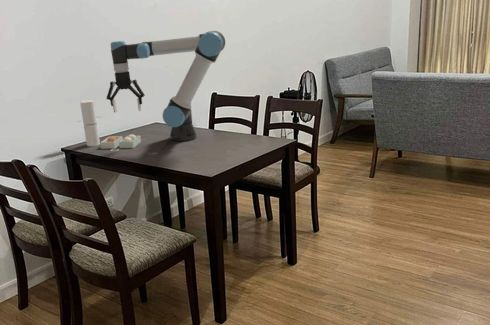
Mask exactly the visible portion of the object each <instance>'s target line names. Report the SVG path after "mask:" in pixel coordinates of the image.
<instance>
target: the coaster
mask: <svg viewBox="0 0 490 325" xmlns="http://www.w3.org/2000/svg"><path fill="white" fill-rule="evenodd" d="M119 150H120V148H117V149H114V148H111V150H110V149H109V152H118V151H119Z"/></svg>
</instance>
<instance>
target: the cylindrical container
mask: <svg viewBox="0 0 490 325" xmlns="http://www.w3.org/2000/svg"><path fill="white" fill-rule="evenodd" d="M79 102H80V109H81V117H82V123H83V128H84V130H83V131H84V136H85V141H86V146H87V147H96V146H99V145H100V142H101V140H100V134H99V127H98V120H97V113H96V106H95V101H94V100H93V99H89V100H82V101H79ZM100 146H101V145H100Z"/></svg>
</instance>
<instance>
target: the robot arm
mask: <svg viewBox="0 0 490 325" xmlns="http://www.w3.org/2000/svg"><path fill="white" fill-rule="evenodd" d="M225 45H226V39H225V36H224V35H223V34H222V33H221V32H220V31H217V30H212V31H210V30H209V31H206V32H204V33H200V34H198V36H190V37H189V36H188V37H181V38H172V39H171V38H170V39H163V40H154V41H142V42H138V43H131V44H126V42H125V41H124V40H120V41H119V40H118V41H112V42H110V52H111V59H112V65H113V71H114V77H115V81H110V82H109V89H108V92H107V96H106V100H109V101H110V105H111V107H112V110H113V113H117V112H118V109H117V105H116V104H117V103H116V99H115V97H116V96H117V94H118V93H119V91H120V90H129V91H131V93H133V95H134V96H136V97H137V99H136V101H137V108H138V112H141V111H142V105H143V98H144V97H145V94H144V92H143V90H142V88H141V87H140V85H139V84H138V80H137V79H133V80H131V75H130V71H129V69H130V68H129V62H128V60H137V59H140V60H141V59H142V60H143V59H147V58H149V57H153V56H161V55H162V56H163V55H172V54H180V53H181V54H182V53H191V52H193V53H195V56H194V59H193V61H192V62H191V65H190V67H189V69H188V71H187V73H186V75H185V77H184V79H183V80H182V83H181V85H180V87H179V89H178V91H177V93H176V95H175V96H172V97H171V98H170V99H169V101H168V102H169V103H168V105H166V107H165V108H164V109H163V112H162V119H163V121H164V123H165V124H166V125H167V126H169V127H171V129H170V134H169V139H170V141H172V142H188V141H193V140H195V139H197V136H198V134H197V131H196V128H195V126H194V125H193V114H192V101H193V99H194V97H195V96H196V94H197V91H198V90H199V88H200V85H201V83H202V81H203V80H204V77H205V76H206V74H207V72H208V70H209V69H210V67H211V64H214V63H216V61H217V59H218V58H219V55H220V54H221V52H222V51H223V50H224V48H225ZM131 84H132V85H134V87H135V88H134V87H133V86H132V85H131ZM115 86H117V87H116V88H115V91H114V92H113V90H114V87H115Z"/></svg>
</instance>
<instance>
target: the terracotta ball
mask: <svg viewBox="0 0 490 325" xmlns="http://www.w3.org/2000/svg"><path fill="white" fill-rule="evenodd" d="M108 137H109V138H108ZM108 137H107V138H108V139H107V142H114V141H115V140H116V138H115V137H113V135H111V136H108Z"/></svg>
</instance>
